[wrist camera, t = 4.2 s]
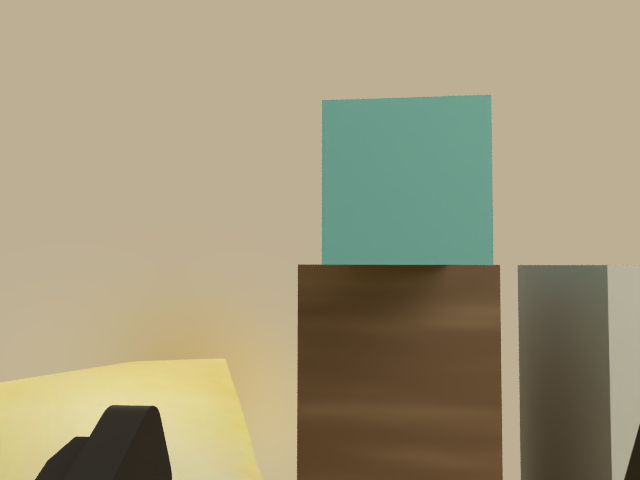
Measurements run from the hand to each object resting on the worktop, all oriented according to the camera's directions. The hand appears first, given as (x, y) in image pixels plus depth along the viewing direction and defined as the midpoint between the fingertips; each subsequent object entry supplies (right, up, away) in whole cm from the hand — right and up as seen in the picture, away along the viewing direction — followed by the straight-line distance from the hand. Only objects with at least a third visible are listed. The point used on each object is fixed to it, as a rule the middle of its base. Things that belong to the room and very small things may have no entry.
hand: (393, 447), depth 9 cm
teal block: (+2, +2, +17) cm, 17 cm away
